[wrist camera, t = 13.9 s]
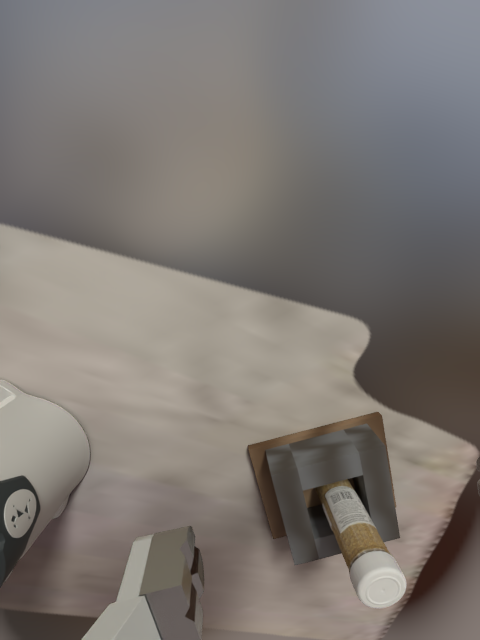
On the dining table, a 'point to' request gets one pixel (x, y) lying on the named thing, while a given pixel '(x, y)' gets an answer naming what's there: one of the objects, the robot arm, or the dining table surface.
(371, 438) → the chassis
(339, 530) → the sprinkles bottle
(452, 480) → the dining table surface
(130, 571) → the robot arm
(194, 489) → the dining table surface
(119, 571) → the dining table surface
